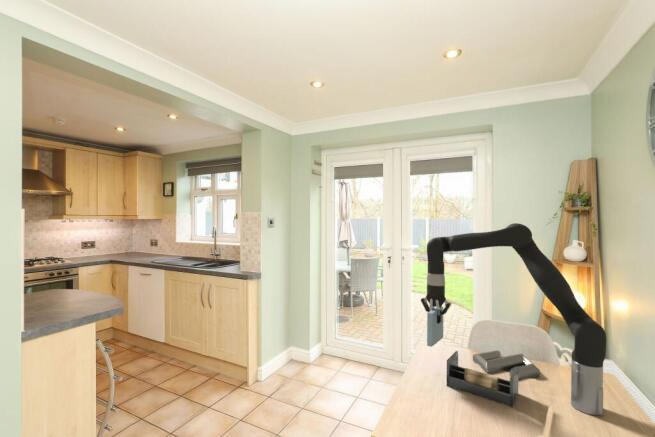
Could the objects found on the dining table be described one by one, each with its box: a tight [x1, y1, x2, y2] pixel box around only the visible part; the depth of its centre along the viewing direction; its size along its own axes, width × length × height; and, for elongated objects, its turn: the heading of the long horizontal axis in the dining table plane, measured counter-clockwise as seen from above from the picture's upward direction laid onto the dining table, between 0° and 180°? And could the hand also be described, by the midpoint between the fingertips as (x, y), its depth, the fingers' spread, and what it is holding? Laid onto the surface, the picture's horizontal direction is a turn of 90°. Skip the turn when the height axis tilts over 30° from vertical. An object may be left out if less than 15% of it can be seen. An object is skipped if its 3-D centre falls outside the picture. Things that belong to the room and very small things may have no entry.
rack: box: [446, 350, 519, 409], centre depth 130 cm, size 24×12×12 cm, turn 51°
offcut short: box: [467, 374, 493, 389], centre depth 127 cm, size 9×2×6 cm, turn 51°
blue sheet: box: [426, 305, 444, 348], centre depth 142 cm, size 14×2×14 cm, turn 141°
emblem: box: [472, 350, 541, 381], centre depth 151 cm, size 28×5×28 cm
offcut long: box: [465, 367, 499, 391], centre depth 129 cm, size 12×2×7 cm, turn 51°
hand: (435, 322), depth 142 cm, fingers closed on blue sheet, 2 cm apart
